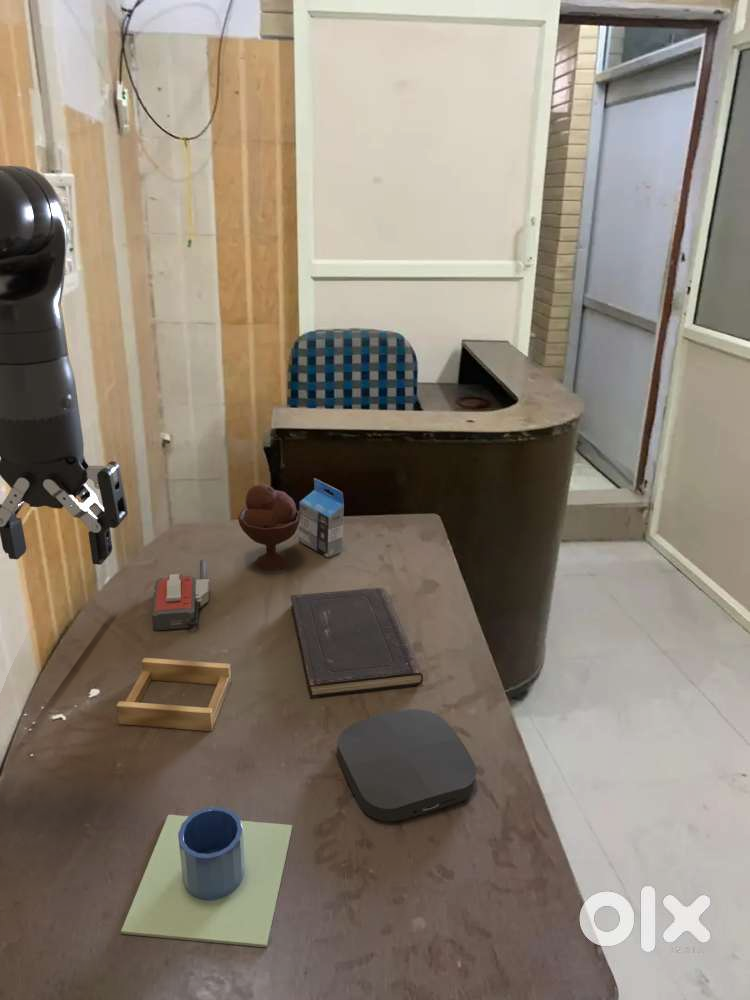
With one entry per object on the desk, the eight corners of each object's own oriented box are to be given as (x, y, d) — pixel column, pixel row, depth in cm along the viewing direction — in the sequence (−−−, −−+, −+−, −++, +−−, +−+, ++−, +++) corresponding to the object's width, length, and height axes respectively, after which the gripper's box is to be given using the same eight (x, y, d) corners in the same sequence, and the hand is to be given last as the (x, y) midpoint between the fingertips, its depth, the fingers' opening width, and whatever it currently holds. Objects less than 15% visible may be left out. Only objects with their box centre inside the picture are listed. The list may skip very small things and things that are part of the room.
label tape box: (297, 541, 145) (297, 482, 140) (314, 535, 148) (314, 477, 142) (327, 559, 139) (327, 498, 134) (344, 552, 142) (345, 492, 137)
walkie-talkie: (210, 631, 117) (209, 567, 135) (208, 607, 116) (208, 545, 133) (151, 636, 116) (158, 570, 133) (148, 611, 114) (156, 548, 132)
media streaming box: (328, 743, 96) (328, 725, 95) (432, 717, 101) (433, 699, 100) (370, 832, 84) (371, 812, 83) (486, 797, 89) (489, 778, 88)
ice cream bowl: (256, 583, 131) (253, 504, 124) (231, 555, 139) (227, 480, 133) (311, 568, 136) (311, 492, 130) (284, 542, 144) (282, 469, 138)
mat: (121, 933, 72) (120, 931, 72) (168, 817, 85) (168, 814, 85) (266, 947, 71) (266, 944, 71) (292, 827, 84) (292, 824, 84)
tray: (118, 724, 98) (116, 705, 97) (146, 674, 107) (144, 657, 106) (211, 731, 97) (210, 713, 96) (231, 681, 107) (230, 663, 105)
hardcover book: (309, 698, 104) (309, 684, 103) (290, 607, 124) (290, 595, 123) (422, 685, 107) (423, 672, 106) (386, 598, 128) (386, 586, 127)
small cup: (174, 897, 75) (169, 854, 73) (193, 845, 81) (189, 804, 79) (236, 903, 75) (233, 860, 73) (250, 851, 81) (248, 809, 78)
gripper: (125, 395, 73) (141, 545, 79) (-19, 387, 73) (9, 536, 80) (93, 421, 66) (114, 582, 73) (-66, 412, 67) (-30, 572, 73)
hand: (59, 558), depth 76 cm, fingers open, 8 cm apart
